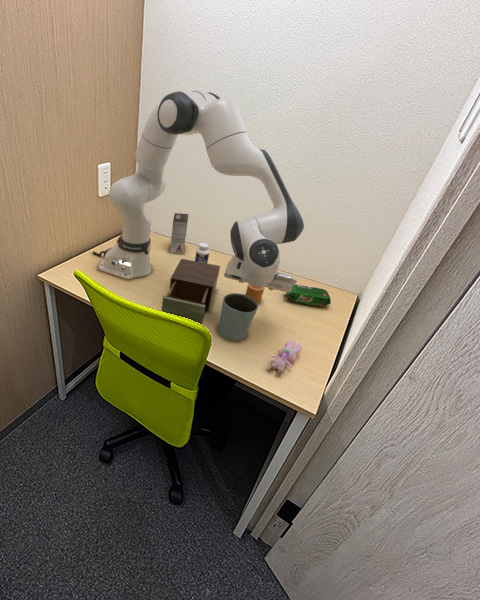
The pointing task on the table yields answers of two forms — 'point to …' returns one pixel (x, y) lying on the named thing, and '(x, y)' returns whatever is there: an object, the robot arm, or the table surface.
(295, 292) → the snack package
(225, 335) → the grey green plant pot
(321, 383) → the table surface
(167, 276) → the table surface
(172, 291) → the drawer
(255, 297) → the terracotta hollow cylinder
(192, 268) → the cabinet
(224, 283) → the table surface
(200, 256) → the pill bottle
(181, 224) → the coffee box
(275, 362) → the rabbit figure
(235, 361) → the table surface
